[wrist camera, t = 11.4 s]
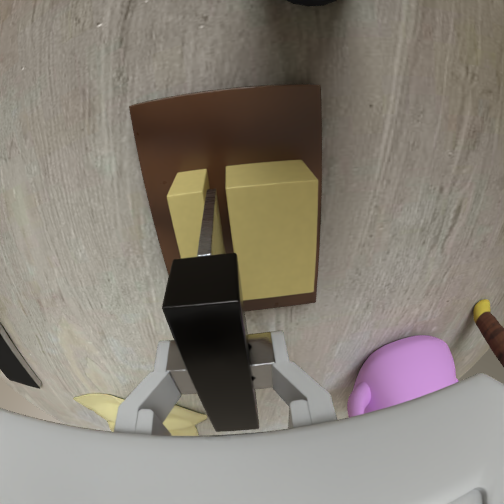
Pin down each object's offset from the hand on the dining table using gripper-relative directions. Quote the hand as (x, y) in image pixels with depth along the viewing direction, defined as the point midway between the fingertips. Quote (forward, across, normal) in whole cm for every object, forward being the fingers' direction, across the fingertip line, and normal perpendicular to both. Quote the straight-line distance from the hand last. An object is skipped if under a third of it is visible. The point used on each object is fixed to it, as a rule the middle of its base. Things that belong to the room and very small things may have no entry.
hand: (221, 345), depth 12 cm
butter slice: (+11, +2, 0) cm, 11 cm away
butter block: (+11, -3, 0) cm, 11 cm away
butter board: (+12, -1, 0) cm, 12 cm away
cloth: (+13, +19, +34) cm, 41 cm away
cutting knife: (+6, 0, 0) cm, 6 cm away
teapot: (+12, -19, +24) cm, 33 cm away
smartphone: (+12, +36, +17) cm, 42 cm away
